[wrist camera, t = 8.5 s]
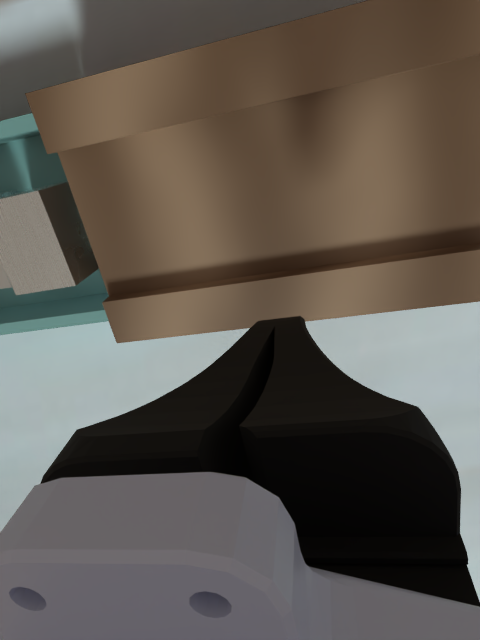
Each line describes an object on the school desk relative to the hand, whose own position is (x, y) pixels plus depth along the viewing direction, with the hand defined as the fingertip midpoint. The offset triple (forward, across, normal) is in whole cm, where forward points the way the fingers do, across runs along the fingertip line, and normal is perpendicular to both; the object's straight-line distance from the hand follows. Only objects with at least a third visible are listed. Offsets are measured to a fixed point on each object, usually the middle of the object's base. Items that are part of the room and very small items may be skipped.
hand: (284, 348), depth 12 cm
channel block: (+9, 0, -4) cm, 10 cm away
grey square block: (+7, +12, -3) cm, 14 cm away
